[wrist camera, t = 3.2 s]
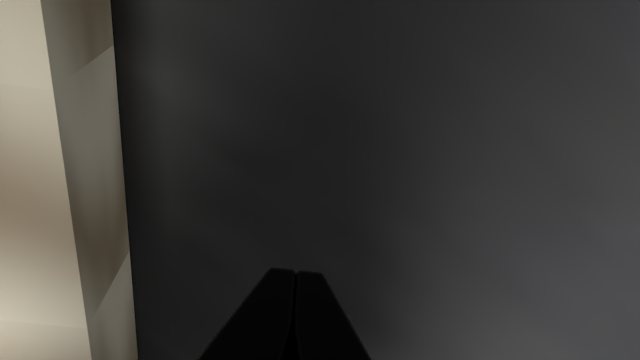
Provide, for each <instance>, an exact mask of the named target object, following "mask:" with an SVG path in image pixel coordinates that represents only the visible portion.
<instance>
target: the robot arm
mask: <svg viewBox="0 0 640 360" xmlns="http://www.w3.org/2000/svg"><path fill="white" fill-rule="evenodd" d="M197 360H371V358H370V356H369V354H368V353H367V351H366V349H365V347H364V346H363V344H362V342H361V340H360V339H359V337H358V335H357V333H356V331H355V330H354V328H353V326H352V324H351V323H350V321H349V319H348V317H347V316H346V314H345V312H344V310H343V308H342V307H341V305H340V303H339V301H338V300H337V298H336V296H335V294H334V293H333V291H332V289H331V287H330V285H329V284H328V282H327V280H326V278H325V277H324V275H323V274H322V273H320V272H312V271H302V270H300V271H298V272H297V273H295V271H294V270H292V269H284V268H270V269H269V270H268V271H267V272H266V273H265V275H264V276H263V277H262V278H261V280H260V281H259V282H258V283H257V285H256V286H255V287H254V288H253V290H252V291H251V292H250V293H249V295H248V296H247V297H246V298H245V300H244V301H243V302H242V303H241V305H240V306H239V307H238V308H237V310H236V311H235V312H234V313H233V315H232V316H231V317H230V318H229V320H228V321H227V322H226V323H225V325H224V326H223V327H222V328H221V330H220V331H219V332H218V333H217V335H216V336H215V337H214V338H213V340H212V341H211V342H210V343H209V345H208V346H207V347H206V348H205V350H204V351H203V352H202V353H201V355H200V356H199V357H198V358H197Z"/></svg>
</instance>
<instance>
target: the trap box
mask: <svg viewBox="0 0 640 360" xmlns="http://www.w3.org/2000/svg"><path fill="white" fill-rule="evenodd" d="M0 360H138V353H137V340H136V327H135V314H134V301H133V288H132V275H131V262H130V249H129V236H128V223H127V211H126V198H125V185H124V172H123V159H122V146H121V133H120V120H119V107H118V94H117V81H116V68H115V55H114V42H113V29H112V16H111V3H110V0H0Z"/></svg>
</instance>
